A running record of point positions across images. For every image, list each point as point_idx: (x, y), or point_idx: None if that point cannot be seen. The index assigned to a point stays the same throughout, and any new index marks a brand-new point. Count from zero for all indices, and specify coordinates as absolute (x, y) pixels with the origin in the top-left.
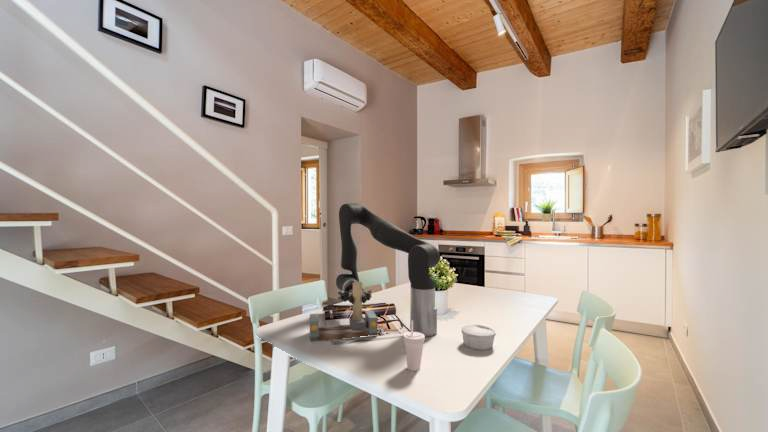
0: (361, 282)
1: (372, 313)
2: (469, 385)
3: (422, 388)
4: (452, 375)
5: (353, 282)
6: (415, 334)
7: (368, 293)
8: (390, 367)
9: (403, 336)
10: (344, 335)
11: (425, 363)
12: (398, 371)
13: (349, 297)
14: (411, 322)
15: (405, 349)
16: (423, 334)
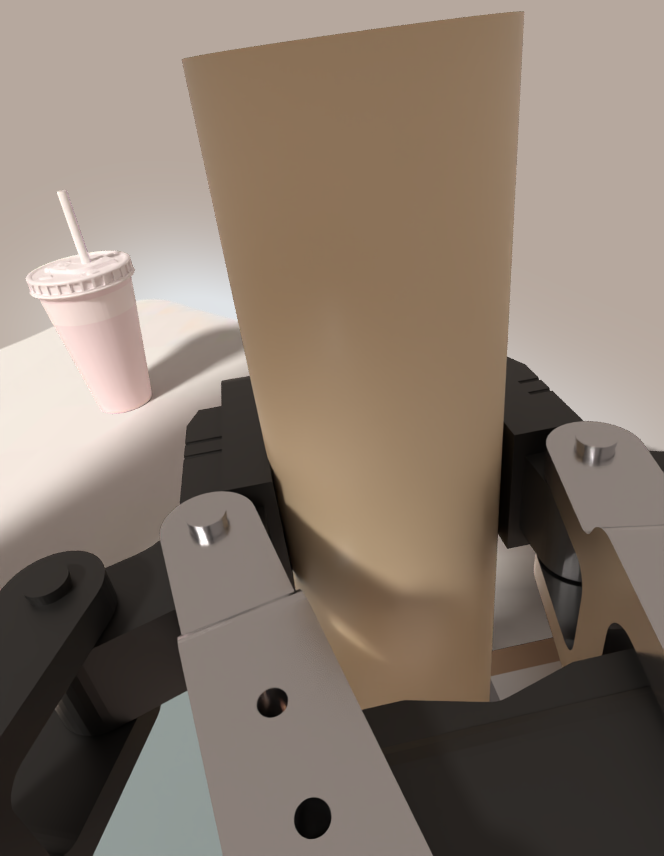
0: (201, 55)
1: (127, 790)
2: (13, 355)
3: (158, 335)
4: (19, 381)
5: (508, 14)
6: (68, 265)
7: (31, 576)
8: (218, 395)
9: (127, 266)
10: (527, 646)
11: (56, 427)
12: (195, 380)
13: (562, 410)
14: (69, 199)
15: (137, 321)
16: (30, 272)
